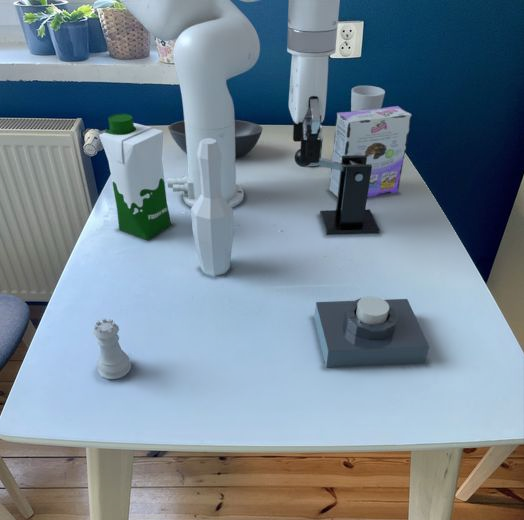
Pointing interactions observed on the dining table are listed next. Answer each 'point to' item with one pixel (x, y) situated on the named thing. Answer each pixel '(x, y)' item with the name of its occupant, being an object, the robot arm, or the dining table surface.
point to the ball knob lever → (325, 163)
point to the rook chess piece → (110, 351)
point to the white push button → (372, 310)
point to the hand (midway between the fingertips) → (305, 151)
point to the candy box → (373, 145)
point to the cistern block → (369, 336)
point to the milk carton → (137, 176)
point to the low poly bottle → (212, 213)
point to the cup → (366, 98)
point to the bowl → (244, 136)
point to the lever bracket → (351, 201)
